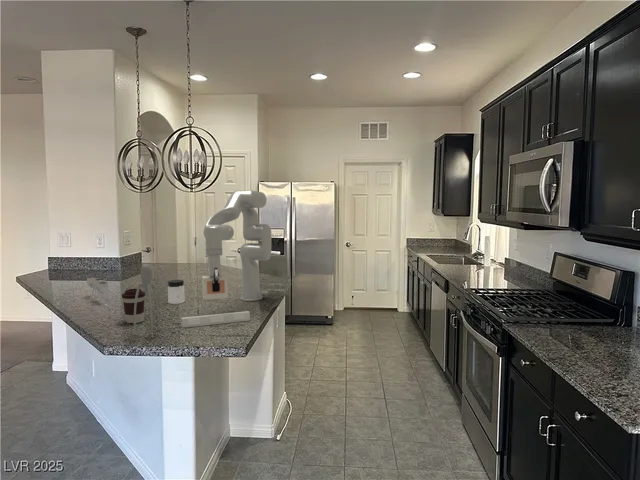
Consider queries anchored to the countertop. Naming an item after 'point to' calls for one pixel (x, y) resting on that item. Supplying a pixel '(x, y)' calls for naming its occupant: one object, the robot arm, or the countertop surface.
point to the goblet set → (98, 287)
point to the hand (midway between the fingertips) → (215, 289)
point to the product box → (208, 288)
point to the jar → (176, 292)
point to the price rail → (215, 319)
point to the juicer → (146, 284)
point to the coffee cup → (129, 305)
